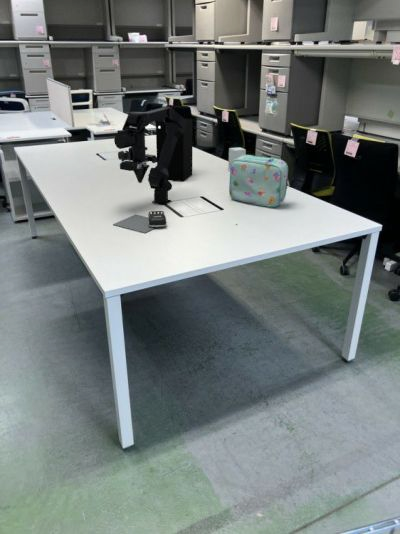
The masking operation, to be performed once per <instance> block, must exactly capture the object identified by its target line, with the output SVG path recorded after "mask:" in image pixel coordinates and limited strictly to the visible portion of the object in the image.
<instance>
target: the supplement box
mask: <svg viewBox="0 0 400 534" xmlns="http://www.w3.org/2000/svg"><path fill="white" fill-rule="evenodd" d="M246 150H247V149H245V148H243V147H239V146H238V147H229V148H228V167H227V168H228V169H230V167H231V162H232V161H233V160H235V159H237V158H239V157H240V156H242V155H247V154H246V153H247V151H246ZM228 169H227V170H228Z"/></svg>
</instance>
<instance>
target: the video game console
mask: <svg viewBox="0 0 400 534" xmlns="http://www.w3.org/2000/svg"><path fill="white" fill-rule="evenodd" d="M184 119H185V120H186V123H187V126H186V129H185V131H184V133H183V134H182V135H181V136H180V137H179V138H178V140H177V143H176V146H175V149H174V152H173V155H172V158H171V161H170V164H169V166H168V174H169V178H168V180H173V181H172V182H185V181H186V180H187V179H188V178H190V177H192V176H193V135H194V134H193V120H194V119H193V118H184ZM166 125H167V124H166V123H165V122H164V120H163V119H160V120H157V121H155V137H156V138H155V140H156V142H155V143H156V147H155V148H156V157H157V162H156V165H157V164H158V161H159V158H160V155H161V152H162V149H163V146H164V143H165V140H166V137H167V131H166Z"/></svg>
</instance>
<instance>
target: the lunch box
mask: <svg viewBox="0 0 400 534" xmlns="http://www.w3.org/2000/svg"><path fill="white" fill-rule="evenodd" d="M288 175H289V166H288V164H287V162H286V161H284V160H283V159H280V158H275V157H263V156H258V155H257V156H256V155H252V154H246V155H242V156H240V157H239V158H237V159H235V160H233V161H232V162H231V167H230V170H229V182H228V183H229V186H228V190H229V191H228V192H229V196H230V198H231V199H232V200H234V201H237V202H243V203H248V204H251V205H253V204H254V205H253V206H263V207H266V206H267V208H276V207H279V206H280V204H281V203H283V202H284V200H285V199H286V195H287V191H288V190H287V189H288V187H290V182H289V178H288Z"/></svg>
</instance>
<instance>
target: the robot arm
mask: <svg viewBox="0 0 400 534" xmlns="http://www.w3.org/2000/svg"><path fill="white" fill-rule="evenodd" d="M127 114H128V115H127V117H126V119H125V121H124V124H123V126H122V130H120V129H119V130H118V129H117V132H116V133H117V134H115V136H114V138H113V141H114V145H115V147H116V148H117V149H118V150H121V151H117V158H118V160H120V161H121V162H120V163H119V169H120V170H122V171H123V170H124V171H129V172H133V173H134V174H135V177H136V179H137V182H138V183H139V184H141V183H143V180H144V178H145V175H146V173H147V171H148V169H149V168H150V165H151V164H150V165H149V164H148V162H151V163H152V164H156V165H155V167H151V168H150V170H149V173H148V175H147V177H148V178H147V181H148V184H149V187H150V189H153V190H154V191H153V192H154V193H153V200H152V201H151V203H152V204H156V205H162V206H164V205H167V204H169V203H171V202H172V201H171V199H169V192H171V191H172V189H173V184H172V183H171V182H170V181H168V178H169V174H168V166H169V164H170V161H171V158H172V155H173V152H174V149H175V146H176V143H177V140H178V138H179V137H180V136H181V135H182V134H183V133H184V131H185V129H186V126H187V123H186V120H185V119H186V118H185V117H183V116H182V115H181V114H180V113H179V112H177V111H176V110H175V109H174V108H173V107H170V106H162V107H160V108H156V109H152V110H148V111H143V112H142V111H130V112H128V113H127ZM161 119H163V120H164V122H165V123H166V124H167V125H166V131H167V137H166V140H165V143H164V146H163V149H162V152H161V155H160V158H159V161H158V164H157V155H156V154H149V153H146V151H148V150H149V149H148V147H147V146H146V133H149V130H148V129H147V126H149V125H150V123H153V122H156V121H158V120H161ZM126 148H128V151H124V150H123V149H126Z"/></svg>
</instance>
